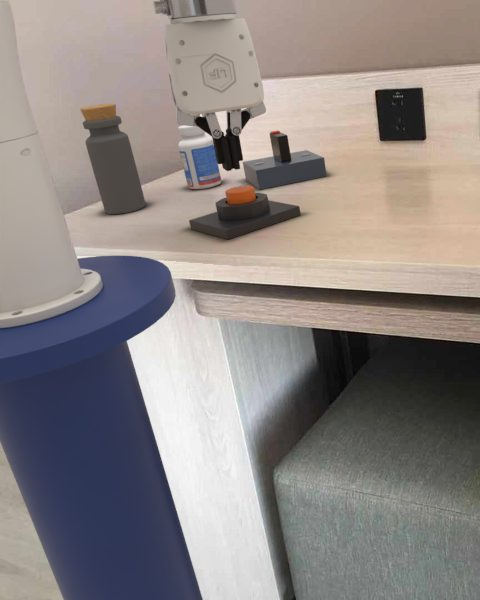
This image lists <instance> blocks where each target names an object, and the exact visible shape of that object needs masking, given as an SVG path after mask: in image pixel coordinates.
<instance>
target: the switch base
mask: <svg viewBox="0 0 480 600" xmlns="http://www.w3.org/2000/svg"><path fill="white" fill-rule="evenodd" d="M255 196H256V200H254V201H250V202H247V203H241V204H228V203H227V198H226V197H223V198H220V199H219V200H217V201H216V202H215V209H216V211H215V212H211V213H207V214H205V215H201V216H198V217H196V218H192V219H189V220H188V221H189V222H188V223H189V227H190V230H193V231H197V232H199V233H200V232H201V233H202V234H203V233H204V234H207V235H211V236H214V237H216V238H217V237H218V238H221V239H225V240H231V239H235V238H237V237H240V236H243V235H245V234H249V233H252V232H254V231H257V230H260V229H264V228H266V227H269V226H273V225H276V224H279V223H281V222H284V221H288V220H290V219H293V218H296V217H299V216H301V207H300V206H299V205H295V204H290V203H284V202H279V201H273V200H269V196H268V195H267V193H264V192H255Z"/></svg>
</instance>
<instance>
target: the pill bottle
mask: <svg viewBox="0 0 480 600" xmlns="http://www.w3.org/2000/svg"><path fill="white" fill-rule="evenodd" d="M177 129H178V134H179V136H180V137H181V138H182V139H181V140H180V141H179V142H178V145H177V148H178V152H179V155H180V159H181V160H180V161H181V164H182V168H183V173H184V175H185V181H186V184H187V187H188V189H191V190H205V189H209V188H213V187H217V186H218V185H221V183H222V177H221V171H220V168H219V164H218V163H217V160H216V155H215V150H214V144H213V139H212V137H211V136H208V135H206V134H205V133H206V132H205V131H203V130H202V129H201V128H199V127H196V126H185V125H180V126H178V128H177Z"/></svg>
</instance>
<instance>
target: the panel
mask: <svg viewBox="0 0 480 600" xmlns="http://www.w3.org/2000/svg"><path fill="white" fill-rule="evenodd" d="M290 154H291V161H287V162H280V161H278V160H277V159H275V158H274V156H273V155H272V156H267V157H262V158H255V159H251V160H245V161H242V167H243V171H244V176H245V181H247V182H248V183H249V184H251V186H253V187H254V188H256V189H258V190H260V191H261V190H265V189H270V188H274V187H275V188H276V187H280V186H286V185H289V184H290V185H291V184H295V183H300V182H306V181H310V180H316V179H321V178H325V177H327V175H328V174H327V168H326V161H325V157H324V156H321V155H319V154H317V153H315V152H312V151H310V150H308V149H305V150H300V151H295V152H290Z"/></svg>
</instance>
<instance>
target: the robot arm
mask: <svg viewBox="0 0 480 600" xmlns="http://www.w3.org/2000/svg"><path fill="white" fill-rule="evenodd" d="M152 5H153V10H154V13H155V15H157V14H159V15H160V14H162V15H165V16H166V17H168V20H169V23H170V24H165V25H164V29H165V30H164V34H165V35H164V36H165V37H164V39H165V51H166V52H165V53H166V63H167V71H168V76H169V84H170V89H171V93H172V99H173V102H174V105H175V122H176V124H178V125H180V126H183V125H185V126H196V127H199V128H201V129H202V130H203V131H205V133H206V134H208V135H209V137H211V139H212V141H213V145H214V150H215V155H216V160H217V163H218V165H221V166H222V169H223V170H225V171H226V172H230V171H232V170H233V169H234V170H241V164H240V162H241V161H242V162H244V155H243V151H242V145H241V144H242V143H241V138H240V135H241V134H242V131H243V129H244V128H245V126H246V125H247V124H248V122H249V121H250V120H252V119H255V118H257V117H259V116H261V115H264V114H265V113H266V112H267V108H266V105H265V103H264V99H265V91H264V85H263V80H262V75H261V71H260V67H259V62H258V58H257V53H256V50H255V46H254V43H253V38H252V35H251V32H250V29H249V26H248V23H247V21H246V18H244V17H240V18H239V17H238V14H237V8H236V7H237V6H236V1H235V0H152ZM18 48H19V47H18V40H17V31H16V24H15V18H14V13H13V9H12V6H11V2H10V0H0V329H4V328H11V327H17V326H23V325H27V324H31V323H36V322H39V321H43V320H46V319H50V318H53V317H56V316H58V315H61V314H64V313H66V312H69V311H71V310H73V309H76V308H78V307H80V306H82V305H83V304H85V303H87V302H89V301H90V300H92V299H93V298H94V297H95V296H97V295H98V294H99V292H100V291H101V289H102V288H103V283H102V280H101V277H100V275H99V274H98V273H97V272H95V271H92V270H88V269H80V266H79V262H78V256H77V253H76V250H75V246H74V243H73V240H72V237H71V234H70V231H69V227H68V224H67V221H66V218H65V214H64V210H63V207H62V205H61V202H60V198H59V195H58V191H57V189H56V186H55V182H54V178H53V176H52V172H51V169H50V166H49V162H48V159H47V156H46V153H45V150H44V146H43V144H42V143H43V142H42V139H41V136H40V133H39V130H38V127H37V125H36V122H35V118H34V115H33V111H32V108H31V105H30V101H29V97H28V94H27V89H26V86H25V81H24V77H23V73H22V69H21V63H20V62H21V61H20V57H19V56H20V55H19V50H18ZM220 112H221V113H222V112H225V113H226V129H225V133H224V131H222V128H221V125H220V122H219V120H218V116H217V113H220Z"/></svg>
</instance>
